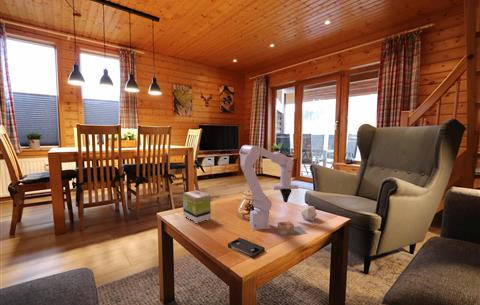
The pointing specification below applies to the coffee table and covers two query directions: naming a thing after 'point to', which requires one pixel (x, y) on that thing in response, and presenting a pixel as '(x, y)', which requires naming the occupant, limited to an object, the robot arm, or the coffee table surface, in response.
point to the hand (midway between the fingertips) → (285, 201)
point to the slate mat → (297, 231)
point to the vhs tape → (246, 247)
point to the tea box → (197, 206)
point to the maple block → (285, 227)
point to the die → (309, 213)
